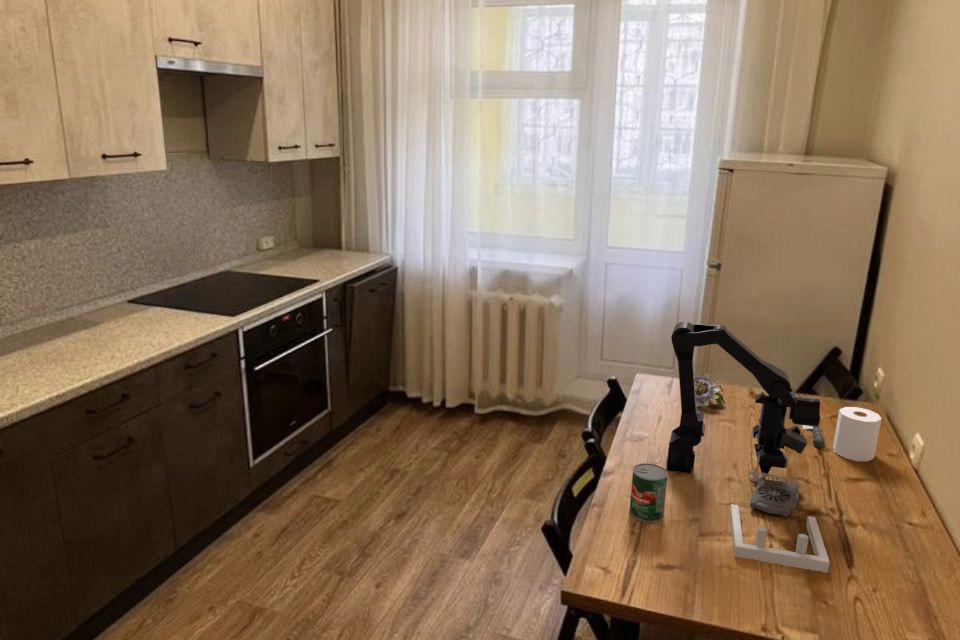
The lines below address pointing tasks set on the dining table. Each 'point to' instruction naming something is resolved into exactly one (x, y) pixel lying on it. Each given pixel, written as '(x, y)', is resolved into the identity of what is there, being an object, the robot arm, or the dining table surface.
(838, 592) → the dining table surface
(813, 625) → the dining table surface
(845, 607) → the dining table surface
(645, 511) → the canned tomato
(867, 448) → the toilet paper
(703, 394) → the passion flower
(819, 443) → the kitchen knife
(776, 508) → the graphics card
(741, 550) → the u-shaped peg rack
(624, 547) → the dining table surface
